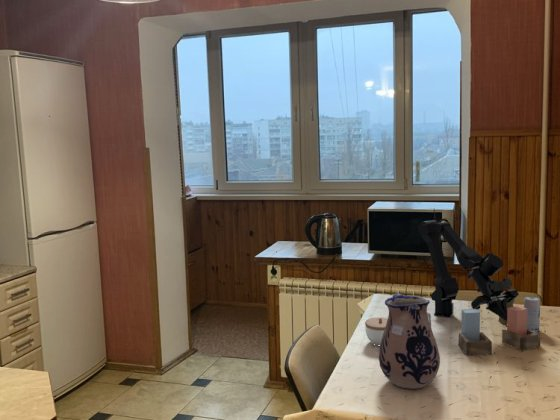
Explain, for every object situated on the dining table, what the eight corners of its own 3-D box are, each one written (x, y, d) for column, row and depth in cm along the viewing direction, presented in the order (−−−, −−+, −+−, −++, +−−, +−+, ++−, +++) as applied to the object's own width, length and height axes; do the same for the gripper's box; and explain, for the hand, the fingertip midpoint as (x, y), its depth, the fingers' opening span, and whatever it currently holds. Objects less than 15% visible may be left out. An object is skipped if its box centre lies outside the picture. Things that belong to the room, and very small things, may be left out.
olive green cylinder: (517, 324, 210) (518, 296, 208) (501, 324, 210) (502, 296, 208) (511, 319, 216) (512, 291, 214) (496, 319, 216) (496, 292, 214)
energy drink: (539, 328, 205) (540, 297, 203) (539, 332, 200) (540, 301, 198) (523, 326, 207) (524, 295, 205) (523, 331, 202) (524, 299, 200)
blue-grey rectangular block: (461, 342, 193) (461, 309, 191) (475, 341, 192) (476, 308, 191) (464, 346, 189) (465, 312, 187) (479, 346, 188) (480, 312, 187)
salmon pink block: (506, 341, 192) (507, 308, 190) (516, 338, 194) (517, 305, 193) (516, 344, 188) (516, 311, 187) (526, 342, 191) (527, 308, 189)
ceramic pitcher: (396, 400, 153) (396, 313, 149) (364, 370, 173) (363, 293, 169) (451, 390, 157) (452, 306, 154) (414, 362, 177) (413, 287, 174)
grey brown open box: (458, 345, 191) (458, 332, 190) (482, 344, 190) (482, 332, 190) (466, 355, 182) (466, 342, 181) (491, 354, 182) (491, 341, 181)
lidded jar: (359, 343, 196) (358, 317, 195) (378, 335, 203) (378, 311, 201) (382, 351, 188) (382, 324, 187) (402, 343, 195) (402, 317, 193)
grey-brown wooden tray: (501, 342, 192) (502, 329, 191) (518, 338, 196) (518, 325, 195) (523, 350, 184) (523, 337, 183) (540, 346, 187) (540, 333, 187)
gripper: (477, 274, 192) (501, 313, 184) (515, 267, 200) (540, 304, 192) (460, 290, 201) (483, 329, 192) (498, 283, 209) (521, 319, 200)
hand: (507, 320), depth 194 cm, fingers closed
